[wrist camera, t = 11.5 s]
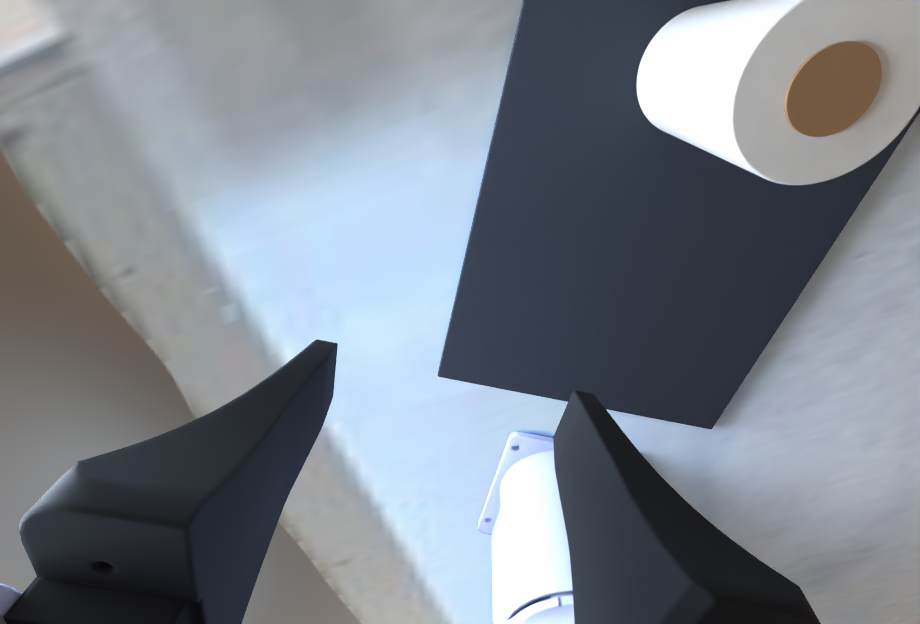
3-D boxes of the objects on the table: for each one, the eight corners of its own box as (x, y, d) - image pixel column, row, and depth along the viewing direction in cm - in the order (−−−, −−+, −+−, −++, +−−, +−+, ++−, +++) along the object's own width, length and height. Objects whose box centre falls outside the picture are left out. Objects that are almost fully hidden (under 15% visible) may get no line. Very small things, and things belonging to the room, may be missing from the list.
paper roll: (862, 203, 12) (993, 1, 10) (699, 166, 12) (797, -50, 10) (722, 145, 19) (780, 20, 17) (618, 121, 19) (664, -9, 17)
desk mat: (708, 424, 27) (711, 429, 27) (438, 372, 26) (437, 376, 26) (1007, -36, 16) (1018, -38, 16) (559, -157, 15) (561, -161, 15)
